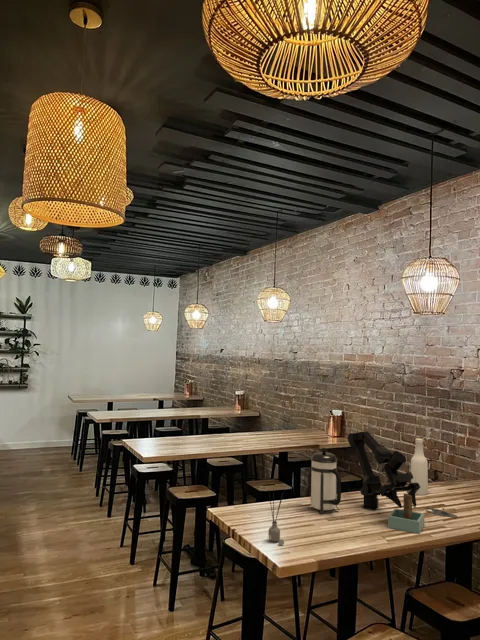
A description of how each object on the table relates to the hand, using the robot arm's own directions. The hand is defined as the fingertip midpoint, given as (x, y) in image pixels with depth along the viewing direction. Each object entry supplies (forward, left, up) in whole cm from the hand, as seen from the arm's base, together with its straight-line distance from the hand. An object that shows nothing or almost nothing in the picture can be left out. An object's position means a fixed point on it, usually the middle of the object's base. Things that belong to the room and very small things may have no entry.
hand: (408, 506), depth 214 cm
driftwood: (+7, +31, -10) cm, 33 cm away
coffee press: (-39, +1, -9) cm, 40 cm away
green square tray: (-1, +1, -9) cm, 9 cm away
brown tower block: (0, 0, -8) cm, 8 cm away
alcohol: (-6, +61, -9) cm, 62 cm away
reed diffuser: (-42, -47, -9) cm, 64 cm away
